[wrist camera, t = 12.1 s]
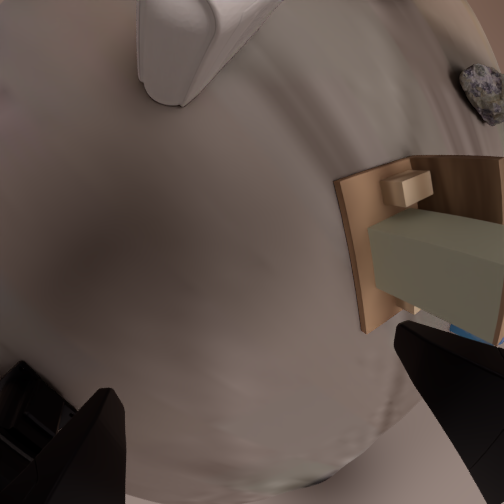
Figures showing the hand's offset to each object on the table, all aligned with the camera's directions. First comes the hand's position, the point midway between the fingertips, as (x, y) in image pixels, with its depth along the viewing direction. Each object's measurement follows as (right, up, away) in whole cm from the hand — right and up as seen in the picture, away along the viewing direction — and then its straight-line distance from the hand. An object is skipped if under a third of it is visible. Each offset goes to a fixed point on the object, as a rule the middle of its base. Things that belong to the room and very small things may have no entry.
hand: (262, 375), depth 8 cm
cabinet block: (+12, +4, +15) cm, 20 cm away
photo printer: (-4, +17, +8) cm, 19 cm away
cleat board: (+12, +4, +16) cm, 21 cm away
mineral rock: (+30, +26, +18) cm, 44 cm away
